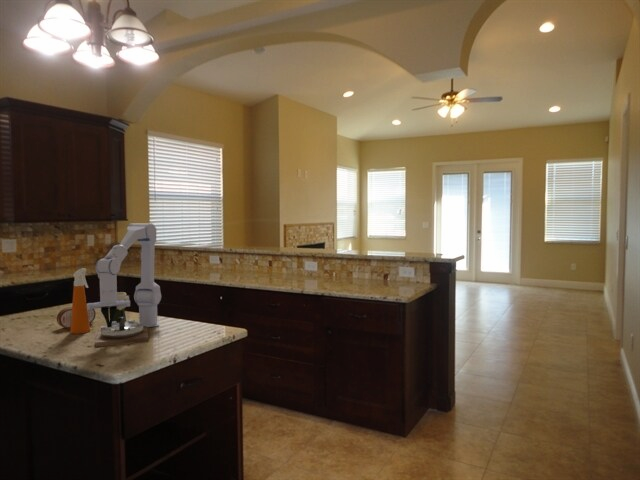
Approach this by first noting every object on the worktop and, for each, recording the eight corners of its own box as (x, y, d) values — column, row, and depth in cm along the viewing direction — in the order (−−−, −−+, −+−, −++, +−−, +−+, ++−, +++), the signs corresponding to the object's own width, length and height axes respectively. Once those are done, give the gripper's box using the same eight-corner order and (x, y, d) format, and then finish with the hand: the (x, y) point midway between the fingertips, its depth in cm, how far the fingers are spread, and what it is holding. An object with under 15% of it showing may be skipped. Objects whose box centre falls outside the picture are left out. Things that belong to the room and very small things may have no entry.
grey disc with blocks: (102, 330, 180) (101, 312, 180) (142, 326, 186) (142, 309, 185) (99, 340, 166) (99, 320, 166) (143, 335, 172) (143, 317, 172)
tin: (93, 322, 200) (93, 303, 199) (96, 323, 198) (96, 304, 197) (56, 329, 188) (56, 309, 188) (59, 330, 186) (59, 310, 186)
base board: (98, 333, 181) (98, 329, 181) (146, 329, 188) (146, 325, 188) (95, 346, 165) (95, 342, 164) (148, 341, 171) (148, 336, 171)
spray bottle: (79, 336, 177) (77, 269, 175) (67, 331, 184) (65, 267, 182) (98, 332, 183) (96, 267, 181) (85, 328, 189) (83, 265, 188)
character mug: (111, 326, 192) (111, 296, 191) (101, 324, 196) (101, 294, 195) (134, 321, 201) (133, 292, 200) (124, 319, 205) (123, 290, 204)
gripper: (85, 293, 162) (86, 331, 163) (129, 291, 168) (130, 327, 169) (87, 290, 169) (88, 326, 170) (129, 288, 174) (130, 322, 175)
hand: (109, 326), depth 170 cm, fingers closed
